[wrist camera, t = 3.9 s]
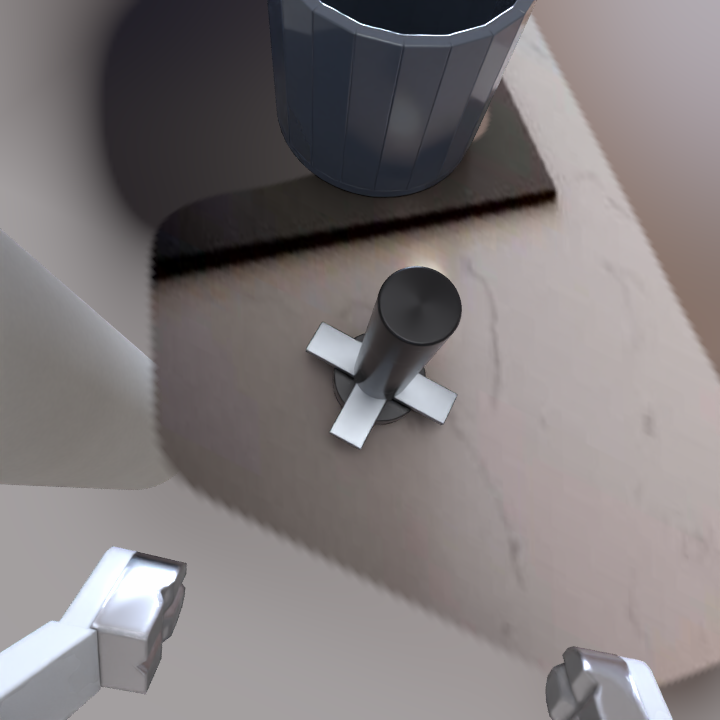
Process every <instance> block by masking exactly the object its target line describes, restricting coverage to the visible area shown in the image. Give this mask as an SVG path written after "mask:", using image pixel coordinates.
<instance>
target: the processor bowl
mask: <svg viewBox="0 0 720 720" xmlns="http://www.w3.org/2000/svg"><path fill="white" fill-rule="evenodd" d="M536 1H537V0H267V2H268V13H269V25H270V37H271V48H272V60H273V72H274V83H275V95H276V106H277V117H278V121H279V125H280V128H281V132H282V134H283V136H284V139H285V141H286V143H287V144H288V146H289V147H290V149H291V151H292V152H293V153H294V155H295V156H296V157H297V158H298V160H299V161H300V162H301V163H302V164H303V165H304V166H305V167H306V168H308V169H309V170H310V171H311V172H312V173H314V174H315V175H316V176H318V177H319V178H321V179H322V180H324V181H326V182H328V183H330V184H331V185H333V186H336V187H338V188H341V189H343V190H345V191H349V192H352V193H356V194H360V195H366V196H372V197H395V196H403V195H408V194H413V193H416V192H419V191H422V190H425V189H427V188H429V187H431V186H433V185H435V184H437V183H438V182H440V181H441V180H443V179H444V178H446V177H447V176H448V175H449V174H450V173H451V172H452V171H454V169H455V168H456V167H457V166H458V165H459V163H460V162H461V161H462V159H463V157H464V156H465V154H466V152H467V150H468V148H469V146H470V145H471V143H472V141H473V139H474V137H475V135H476V133H477V131H478V128H479V126H480V124H481V122H482V120H483V117H484V115H485V113H486V111H487V109H488V106H489V104H490V102H491V100H492V98H493V96H494V93H495V91H496V89H497V87H498V85H499V82H500V80H501V78H502V76H503V74H504V71H505V69H506V67H507V65H508V63H509V60H510V58H511V56H512V54H513V52H514V49H515V47H516V45H517V43H518V41H519V38H520V36H521V34H522V32H523V30H524V28H525V25H526V23H527V21H528V19H529V17H530V14H531V12H532V10H533V8H534V6H535V3H536Z"/></svg>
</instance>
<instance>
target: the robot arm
mask: <svg viewBox="0 0 720 720" xmlns="http://www.w3.org/2000/svg"><path fill="white" fill-rule="evenodd" d="M185 575H186V563H184V562H179V561H175V560H171V559H166V558H162V557H158V556H153V555H149V554H145V553H140V552H137V551H133V550H128V549H123V548H119V547H114V546H112V547H111V548H110V549H109V550H108V551H107V552H105V554H104V555H103V556H102V558H101V560H100V561H99V562H98V564H97V566H96V567H95V569H94V570H93V572H92V573H91V575H90V576H89V578H88V579H87V581H86V582H85V584H84V585H83V587H82V588H81V590H80V591H79V593H78V594H77V596H76V597H75V599H74V600H73V602H72V603H71V605H70V606H69V608H68V609H67V611H66V612H65V614H64V615H63V617H62V618H61V620H60V621H59V622H57V621H50V622H48V623H47V624H45V625H43V626H42V627H40V628H39V629H37V630H35V631H34V632H33V633H31V634H29V635H27V636H26V637H24V638H23V639H21V640H20V641H18V642H16V643H15V644H13V645H12V646H10V647H9V648H7V649H5V650H4V651H2V652H1V653H0V720H67V719H68V718H69V717H70V716H71V715H72V714H74V713H75V712H76V711H77V710H78V709H79V708H80V707H81V706H83V705H84V704H85V703H86V702H87V701H88V700H89V699H90V698H92V697H93V696H94V695H95V694H96V693H97V692H98V691H99V690H100V686H101V687H107V688H113V689H119V690H124V691H130V692H136V693H141V694H146V692H147V690H148V688H149V685H150V683H151V681H152V678H153V676H154V674H155V672H156V670H157V667H158V665H159V663H160V660H161V655H162V643H163V642H164V641H165V640H166V639H168V638H169V637H170V636H171V635H172V633H173V630H174V628H175V625H176V623H177V620H178V618H179V614H180V611H181V608H182V604H183V600H184V595H185V587H184V586H183V584H182V582H183V580H184V577H185ZM563 659H564V663H562V664H560V665H557V666H555V667H553V669H552V670H551V672H550V673H549V675H548V677H547V683H546V703H547V707H548V711H549V716H550V717H551V719H552V720H673V719H672V717H671V714H670V712H669V710H668V708H667V705H666V703H665V701H664V699H663V697H662V694H661V692H660V689H659V687H658V685H657V683H656V680H655V678H654V676H653V674H652V671H651V669H650V668H649V667H648V665H647V664H646V663H645V662H643V661H640V660H636V659H631V658H626V657H621V656H618V655H615V654H610V653H605V652H600V651H595V650H590V649H585V648H580V647H575V646H573V647H569V648H567V650H566V651H565V652H564V653H563Z"/></svg>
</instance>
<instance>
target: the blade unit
mask: <svg viewBox="0 0 720 720" xmlns="http://www.w3.org/2000/svg"><path fill="white" fill-rule="evenodd" d="M461 313H462V305H461V300H460V297H459V294H458V292H457V290H456V288H455V286H454V285H453V284H452V282H451V281H450V280H449V279H448V278H447V277H445V276H444V275H443V274H441V273H440V272H438V271H436V270H433V269H430V268H427V267H420V266H414V267H407V268H404V269H401V270H399V271H396V272H395V273H393V274H392V275H391V276H389V277H388V278H387V279H386V281H385V282H384V283H383V285H382V287H381V289H380V291H379V294H378V297H377V300H376V303H375V306H374V309H373V312H372V315H371V318H370V321H369V324H368V327H367V330H366V333H365V334H362V335H359V336H357V337H355V338H352V337H350V336H348V335H347V334H345V333H343V332H341V331H339V330H337V329H335V328H334V327H332V326H330V325H328V324H326V323H324V322H322V323H321V324H320V326H319V328H318V329H317V331H316V333H315V334H314V336H313V338H312V339H311V341H310V343H309V344H308V346H307V348H306V352H307V353H309V354H311V355H313V356H315V357H316V358H318V359H320V360H322V361H324V362H326V363H327V364H329V365H331V366H333V367H334V373H333V388H334V392H335V395H336V398H337V400H338V402H339V403H340V405H341V406H342V410H341V411H340V413H339V415H338V417H337V419H336V420H335V422H334V424H333V426H332V428H331V429H330V431H329V433H330V434H331V435H333V436H335V437H337V438H339V439H340V440H342V441H344V442H346V443H348V444H350V445H351V446H353V447H355V448H357V449H359V450H360V449H361V448H362V446H363V444H364V443H365V441H366V439H367V437H368V435H369V433H370V431H371V429H372V427H373V425H383V424H389V423H392V422H395V421H397V420H399V419H401V418H402V417H404V416H405V415H406V414H407V413H409V412H410V411H411V410H414V411H416V412H418V413H420V414H421V415H423V416H425V417H427V418H429V419H431V420H432V421H434V422H436V423H438V424H440V425H443V424H444V423H445V421H446V418H447V416H448V414H449V412H450V410H451V408H452V406H453V404H454V402H455V400H456V398H457V394H456V393H454V392H452V391H450V390H449V389H447V388H445V387H443V386H441V385H439V384H437V383H436V382H434V381H432V380H430V379H428V378H426V377H425V369H424V366H425V365H426V364H427V363H428V361H429V360H430V359H431V358H432V357H433V356H434V355H435V353H436V352H437V351H438V350H439V349H440V348H441V346H442V345H443V344H444V343H445V342H446V341H447V340H448V338H449V337H450V336H451V335H452V334H453V333H454V331H455V330H456V328H457V327H458V325H459V322H460V319H461Z"/></svg>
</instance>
